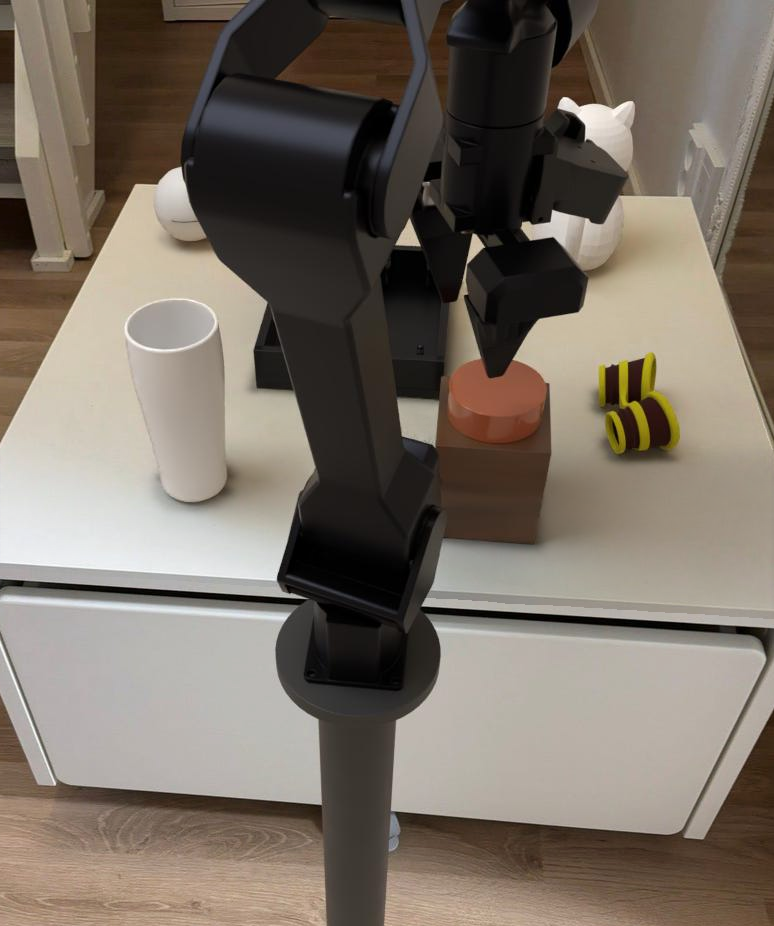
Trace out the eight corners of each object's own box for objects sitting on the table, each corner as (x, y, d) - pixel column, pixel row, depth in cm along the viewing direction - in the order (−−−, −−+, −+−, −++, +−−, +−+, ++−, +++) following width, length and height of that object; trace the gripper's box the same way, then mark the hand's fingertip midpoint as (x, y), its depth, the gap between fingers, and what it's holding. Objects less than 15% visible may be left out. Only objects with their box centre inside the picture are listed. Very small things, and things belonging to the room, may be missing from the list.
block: (534, 544, 77) (551, 453, 70) (427, 536, 78) (435, 445, 71) (533, 473, 82) (549, 382, 76) (433, 466, 83) (441, 375, 77)
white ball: (155, 256, 106) (144, 188, 101) (162, 220, 111) (152, 153, 105) (251, 254, 106) (246, 186, 100) (254, 217, 111) (249, 151, 105)
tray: (441, 399, 89) (445, 361, 86) (256, 388, 91) (253, 350, 88) (451, 284, 101) (454, 247, 98) (287, 276, 103) (285, 239, 100)
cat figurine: (616, 231, 107) (647, 83, 96) (616, 297, 99) (650, 143, 88) (529, 224, 109) (550, 78, 97) (522, 288, 100) (544, 137, 89)
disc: (542, 447, 71) (547, 419, 69) (444, 440, 72) (446, 413, 70) (541, 387, 75) (546, 359, 74) (448, 381, 76) (451, 354, 74)
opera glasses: (593, 397, 90) (591, 350, 86) (655, 387, 89) (656, 339, 86) (612, 470, 84) (611, 423, 80) (679, 460, 83) (681, 412, 79)
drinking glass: (157, 456, 85) (128, 297, 74) (238, 454, 85) (222, 295, 74) (148, 513, 80) (116, 353, 69) (234, 511, 80) (216, 350, 69)
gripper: (702, 160, 54) (639, 398, 66) (561, 32, 66) (529, 252, 78) (503, 189, 52) (475, 428, 64) (396, 52, 65) (389, 274, 76)
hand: (471, 337), depth 71 cm, fingers open, 9 cm apart
